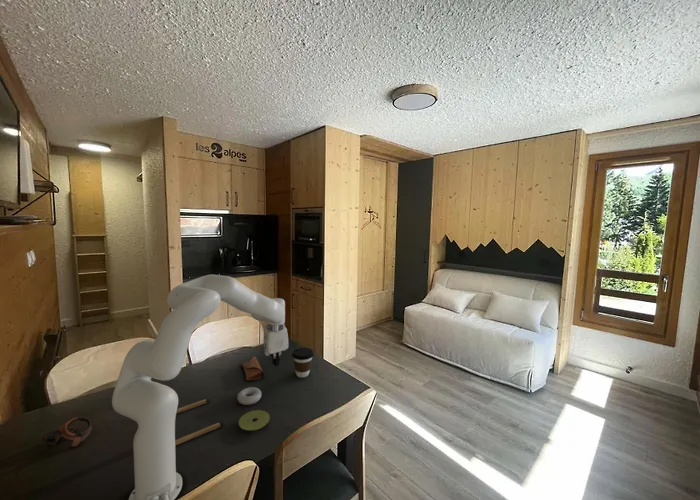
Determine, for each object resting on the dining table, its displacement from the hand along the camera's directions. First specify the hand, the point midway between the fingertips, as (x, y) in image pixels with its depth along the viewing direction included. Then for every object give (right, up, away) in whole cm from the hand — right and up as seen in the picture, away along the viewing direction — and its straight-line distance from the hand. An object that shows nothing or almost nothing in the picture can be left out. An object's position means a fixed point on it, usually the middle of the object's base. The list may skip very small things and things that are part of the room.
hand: (275, 364), depth 132 cm
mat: (-3, -14, -22) cm, 26 cm away
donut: (-10, -12, -7) cm, 17 cm away
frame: (-27, -13, -22) cm, 37 cm away
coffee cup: (+10, -11, +15) cm, 21 cm away
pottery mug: (-62, -13, -34) cm, 72 cm away
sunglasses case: (-16, -10, +16) cm, 25 cm away
